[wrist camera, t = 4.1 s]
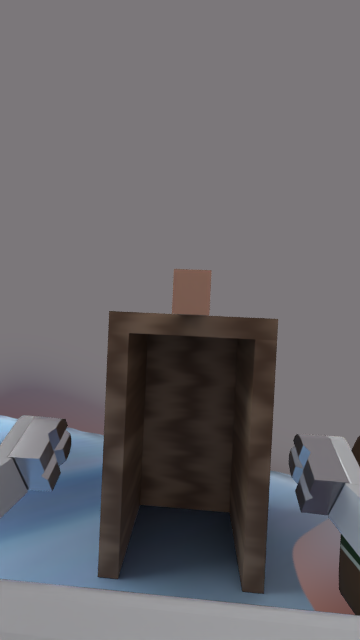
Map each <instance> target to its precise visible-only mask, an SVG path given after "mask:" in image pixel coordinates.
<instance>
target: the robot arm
mask: <svg viewBox="0 0 360 640" xmlns="http://www.w3.org/2000/svg"><path fill="white" fill-rule="evenodd" d="M67 426H68V425H67V422H66V419H59V418H48V417H38V416H25V415H23V416H22V417H20V418H19V419H18V420H17V422H16V423H15V425H14V426H13V427H12V429H11V430H10V432H9V433H8V435H7V436H6V437H5V439H4V440H3V442H2V443H1V445H0V518H1V517H2V516H3V515H4V514H5V513H6V512H7V511H8V510H10V509H11V508H12V507H13V506H14V505H15V504H16V503H17V502H18V501H19V500H20V499H21V498H22V497H23V496H24V495H25V494H26V493H27V492H28V491H27V490H30V491H50V492H52V491H53V489H54V486H55V484H56V482H57V480H58V478H59V475H60V473H61V472H60V468H59V466H60V465H61V464H63V463H64V462H65V461H66V460H67V457H68V455H69V452H70V448H71V435H70V433H69V432H68V431H66V428H67ZM293 441H294V444H295V447H293V448H291V450H290V454H289V467H290V473H291V477H292V478H293V480H294V481H295V482H296V483H297V484H298V485H297V488H296V490H295V492H296V496H297V499H298V503H299V507H300V510H301V512H304V513H313V514H322V515H328V517H329V519H330V520H331V521H332V522H333V524H334V525H335V526H336V528H337V529H338V530H339V531H340V533H341V534H342V535H343V536H344V538H345V539H346V540H347V542H348V543H349V544H350V545H351V547H352V548H353V549H354V550H355V552H356V553H357V554H358V555H359V557H360V467H359V465H358V463H357V461H356V459H355V457H354V455H353V453H352V451H351V449H350V447H349V445H348V443H347V441H346V439H345V438H343V437H337V436H326V435H307V434H297V435H296V436H295V438H294V440H293ZM0 640H360V616H358V615H347V614H338V613H328V612H318V611H309V610H299V609H290V608H280V607H270V606H260V605H251V604H241V603H231V602H221V601H212V600H202V599H192V598H182V597H173V596H163V595H153V594H143V593H134V592H124V591H114V590H104V589H95V588H85V587H75V586H65V585H56V584H46V583H36V582H26V581H16V580H7V579H0Z"/></svg>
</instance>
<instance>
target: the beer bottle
mask: <svg viewBox="0 0 360 640" xmlns="http://www.w3.org/2000/svg"><path fill="white" fill-rule="evenodd" d="M351 451H352V453H353V455H354V457H355V459H356V461H357V463H358V465H359V467H360V436H359V437H358V438H357V440H356V442H355V444H354V447H353V448H352V450H351ZM340 542H341V543H340V562H339V590H340V592H341V595H342V596H343V597H344V599H345V600H346V602H347V603H348V605H349V606H350V608H351V609H352V610H353V612H354V613H355V615H358V616H360V557H359V555H358V554H357V553H356V552H355V550H354V549H353V548H352V547H351V545H350V544H349V543H348V542H347V540H346V539H345V538H344V536H343V535H342V534H341V541H340Z"/></svg>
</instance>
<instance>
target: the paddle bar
mask: <svg viewBox="0 0 360 640" xmlns="http://www.w3.org/2000/svg"><path fill="white" fill-rule="evenodd" d="M210 289H211V270H187V269H186V270H185V269H174V282H173V303H172V314H180V315H201V316H208V315H209V310H210Z"/></svg>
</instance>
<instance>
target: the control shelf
mask: <svg viewBox="0 0 360 640" xmlns="http://www.w3.org/2000/svg"><path fill="white" fill-rule="evenodd" d="M277 329H278V319H265V318H243V317H222V316H201V315H180V314H157V313H137V312H116V311H109V331H108V354H107V378H106V379H107V380H106V400H105V423H104V424H105V425H104V446H103V469H102V492H101V515H100V538H99V561H98V577H103V578H113V579H118V577H119V574H120V570H121V567H122V564H123V560H124V557H125V554H126V550H127V547H128V544H129V540H130V537H131V534H132V530H133V527H134V524H135V520H136V517H137V514H138V510H139V507H140V505H147V506H159V507H170V508H182V509H194V510H205V511H217V512H229V514H230V520H231V526H232V532H233V538H234V544H235V550H236V556H237V562H238V568H239V574H240V580H241V586H242V592H252V593H262V594H264V579H265V560H266V541H267V522H268V503H269V483H270V463H271V445H272V426H273V407H274V387H275V368H276V349H277Z"/></svg>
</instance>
